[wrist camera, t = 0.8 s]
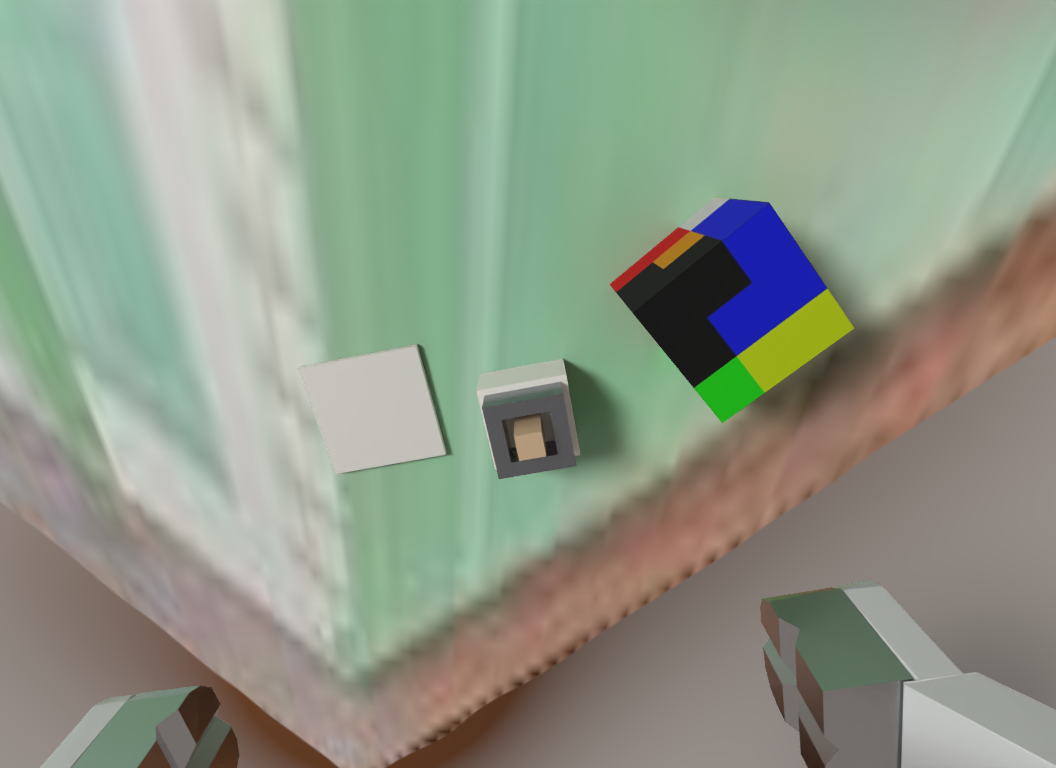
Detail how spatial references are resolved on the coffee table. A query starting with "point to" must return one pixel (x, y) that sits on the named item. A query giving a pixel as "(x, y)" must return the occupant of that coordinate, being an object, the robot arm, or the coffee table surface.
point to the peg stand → (536, 427)
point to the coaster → (374, 409)
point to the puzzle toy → (733, 302)
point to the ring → (522, 405)
